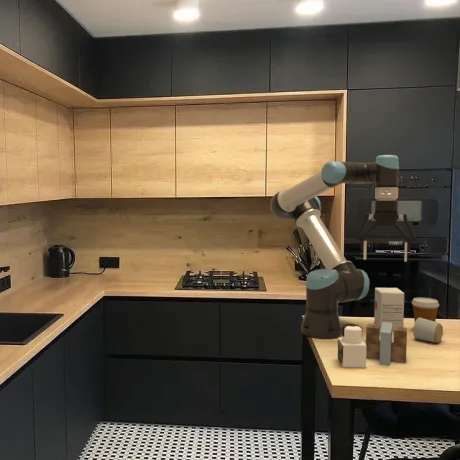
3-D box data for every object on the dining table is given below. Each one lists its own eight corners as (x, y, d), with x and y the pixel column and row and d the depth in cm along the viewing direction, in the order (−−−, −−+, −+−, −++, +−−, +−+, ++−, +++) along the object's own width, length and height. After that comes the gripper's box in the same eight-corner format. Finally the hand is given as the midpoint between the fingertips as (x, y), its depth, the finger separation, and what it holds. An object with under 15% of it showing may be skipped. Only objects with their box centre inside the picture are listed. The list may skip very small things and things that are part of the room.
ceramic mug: (436, 345, 154) (437, 323, 153) (412, 340, 160) (413, 319, 159) (446, 339, 162) (447, 318, 161) (423, 334, 167) (424, 314, 167)
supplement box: (373, 324, 180) (374, 287, 179) (396, 324, 179) (397, 287, 178) (379, 331, 171) (380, 292, 170) (403, 331, 170) (404, 292, 169)
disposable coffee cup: (405, 328, 174) (406, 298, 173) (427, 326, 176) (428, 296, 175) (421, 336, 165) (422, 303, 164) (444, 334, 167) (445, 302, 166)
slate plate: (379, 364, 138) (380, 332, 137) (382, 351, 149) (382, 321, 148) (389, 365, 137) (390, 333, 136) (391, 352, 148) (392, 322, 147)
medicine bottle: (337, 359, 142) (338, 322, 141) (360, 359, 142) (360, 322, 141) (342, 367, 135) (343, 328, 134) (366, 368, 135) (367, 328, 134)
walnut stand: (365, 357, 143) (366, 327, 142) (366, 353, 147) (367, 323, 146) (406, 363, 138) (406, 331, 138) (406, 358, 142) (407, 327, 141)
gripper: (348, 199, 158) (347, 259, 160) (425, 200, 149) (423, 263, 150) (351, 199, 165) (350, 256, 167) (424, 199, 156) (423, 260, 157)
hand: (384, 260), depth 159 cm, fingers open, 13 cm apart
